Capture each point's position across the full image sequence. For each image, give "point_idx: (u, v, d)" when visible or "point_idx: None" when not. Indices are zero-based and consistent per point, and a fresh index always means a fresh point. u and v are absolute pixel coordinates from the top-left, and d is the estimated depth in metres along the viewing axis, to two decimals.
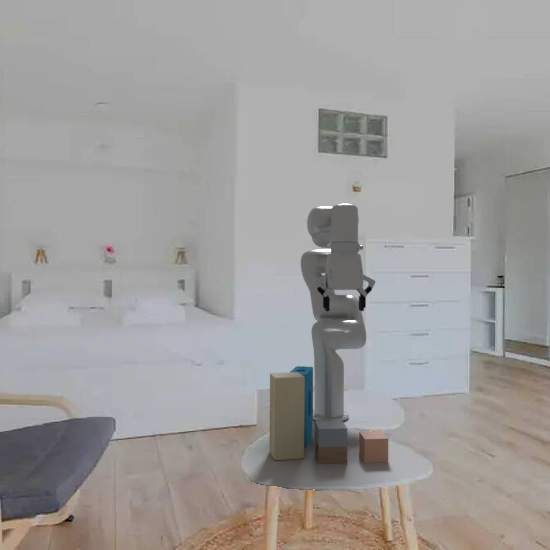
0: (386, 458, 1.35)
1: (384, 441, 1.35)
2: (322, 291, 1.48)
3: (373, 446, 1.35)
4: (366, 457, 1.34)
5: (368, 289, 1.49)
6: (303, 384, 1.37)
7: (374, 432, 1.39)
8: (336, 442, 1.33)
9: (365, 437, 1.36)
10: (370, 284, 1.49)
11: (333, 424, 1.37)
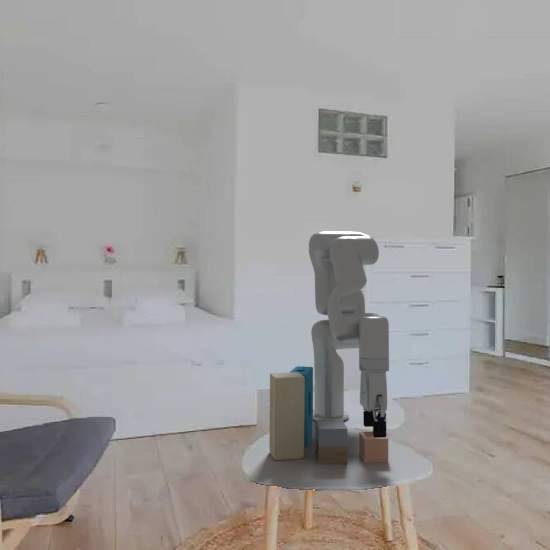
0: (386, 458, 1.35)
1: (384, 441, 1.35)
2: None
3: (373, 446, 1.35)
4: (366, 457, 1.34)
5: None
6: (303, 384, 1.37)
7: None
8: (336, 442, 1.33)
9: (365, 437, 1.36)
10: None
11: (334, 424, 1.37)
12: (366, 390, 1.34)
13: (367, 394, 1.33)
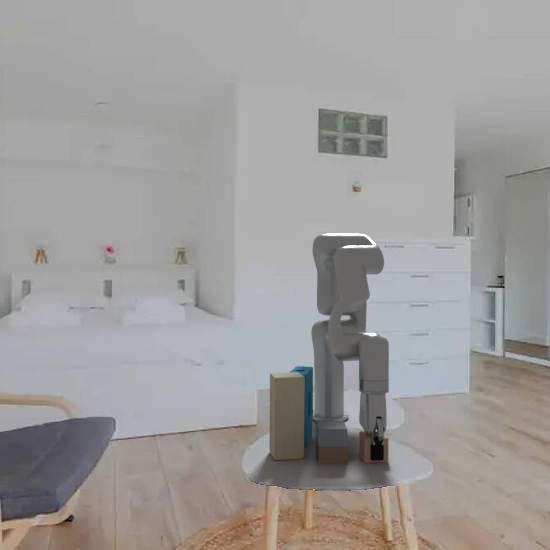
0: (386, 458, 1.35)
1: (384, 441, 1.35)
2: None
3: None
4: (366, 457, 1.34)
5: None
6: (303, 384, 1.37)
7: None
8: (336, 442, 1.33)
9: (365, 437, 1.36)
10: None
11: (334, 424, 1.37)
12: (366, 411, 1.34)
13: (366, 416, 1.34)
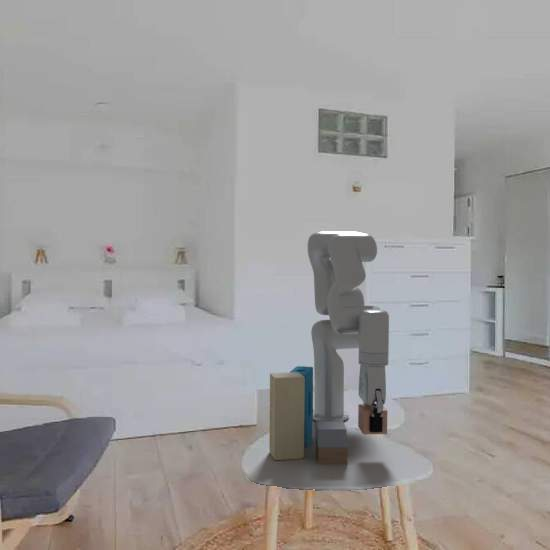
0: (385, 430, 1.35)
1: (383, 413, 1.35)
2: None
3: None
4: (365, 429, 1.35)
5: None
6: (303, 384, 1.37)
7: None
8: (335, 442, 1.33)
9: (364, 409, 1.36)
10: None
11: (333, 424, 1.37)
12: (365, 384, 1.35)
13: (366, 388, 1.34)
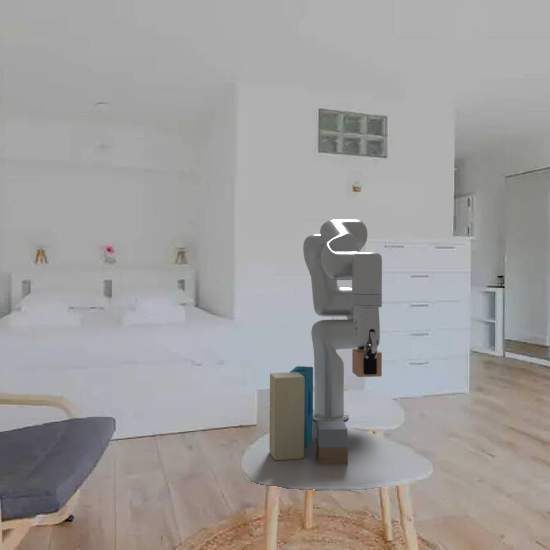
0: (379, 372, 1.34)
1: (377, 355, 1.34)
2: None
3: None
4: (359, 371, 1.34)
5: (364, 345, 1.42)
6: (303, 384, 1.37)
7: None
8: (336, 443, 1.33)
9: (358, 352, 1.35)
10: None
11: (334, 424, 1.37)
12: (359, 325, 1.34)
13: (360, 329, 1.33)
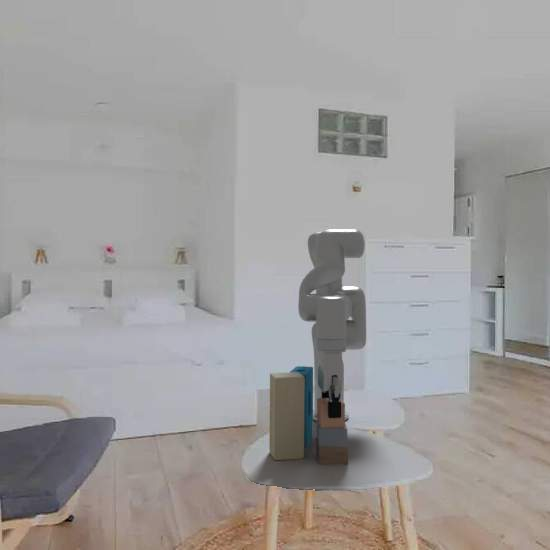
0: (343, 423, 1.34)
1: None
2: None
3: None
4: (322, 422, 1.34)
5: None
6: (303, 384, 1.37)
7: None
8: (336, 442, 1.33)
9: (322, 402, 1.35)
10: None
11: None
12: (322, 371, 1.33)
13: (323, 375, 1.33)
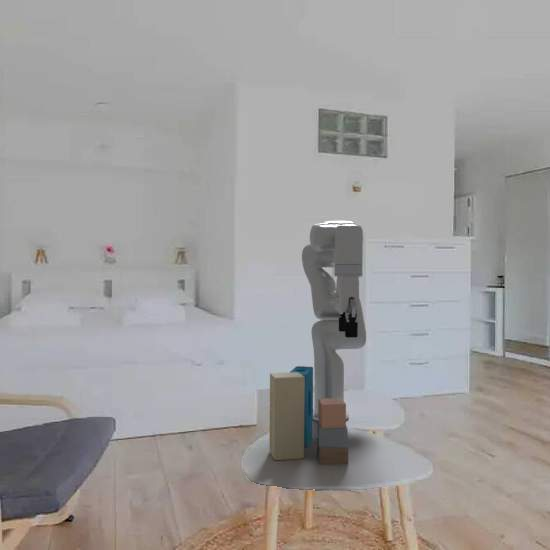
0: (344, 424, 1.34)
1: (342, 407, 1.34)
2: None
3: (331, 411, 1.34)
4: (323, 423, 1.33)
5: None
6: (303, 384, 1.37)
7: (332, 399, 1.38)
8: (336, 442, 1.33)
9: (323, 403, 1.35)
10: None
11: None
12: (339, 294, 1.41)
13: (340, 297, 1.41)
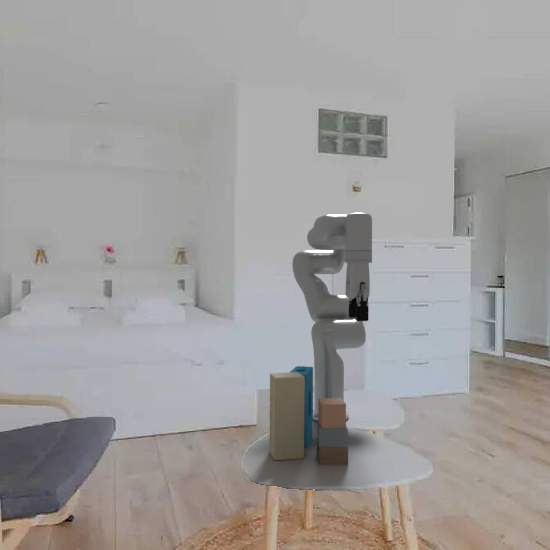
0: (344, 424, 1.34)
1: (342, 407, 1.34)
2: None
3: (331, 411, 1.33)
4: (323, 423, 1.33)
5: None
6: (303, 384, 1.37)
7: (332, 399, 1.38)
8: (336, 442, 1.33)
9: (323, 403, 1.35)
10: None
11: None
12: (350, 279, 1.47)
13: (351, 282, 1.46)
